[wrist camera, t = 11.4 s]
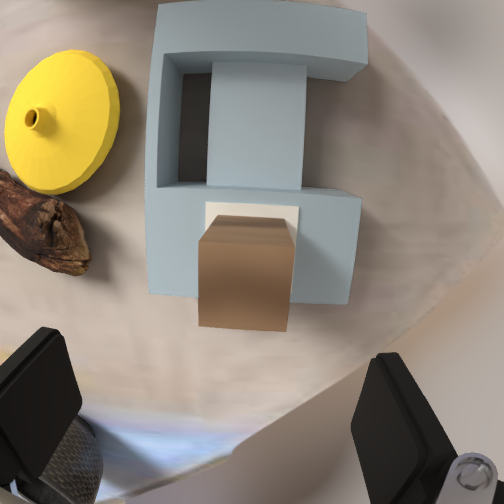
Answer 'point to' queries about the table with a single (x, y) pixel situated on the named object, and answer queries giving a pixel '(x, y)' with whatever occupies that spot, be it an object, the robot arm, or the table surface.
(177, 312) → the table surface
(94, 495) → the planter
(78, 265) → the driftwood
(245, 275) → the walnut block
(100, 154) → the yellow piece
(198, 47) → the slot box
